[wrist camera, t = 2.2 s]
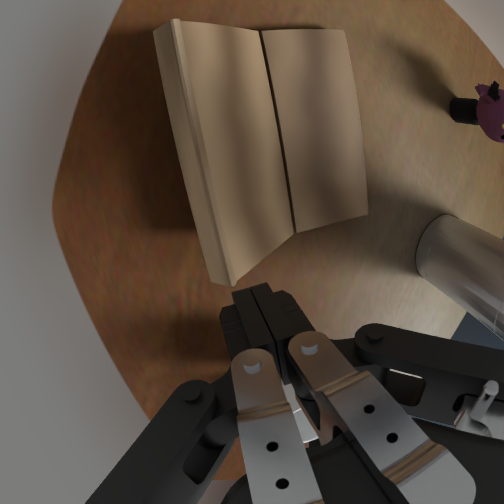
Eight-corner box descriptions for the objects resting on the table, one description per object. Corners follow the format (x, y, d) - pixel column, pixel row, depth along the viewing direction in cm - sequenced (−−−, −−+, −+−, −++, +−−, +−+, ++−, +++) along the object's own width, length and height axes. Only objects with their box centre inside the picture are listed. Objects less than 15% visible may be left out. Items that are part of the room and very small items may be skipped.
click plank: (240, 37, 21) (260, 30, 19) (276, 232, 28) (296, 234, 27) (152, 31, 14) (172, 18, 13) (211, 281, 22) (232, 287, 21)
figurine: (432, 80, 26) (516, 82, 15) (468, 77, 26) (542, 82, 16) (443, 145, 29) (524, 165, 19) (477, 135, 30) (548, 152, 19)
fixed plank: (334, 34, 22) (344, 30, 21) (358, 209, 30) (368, 214, 28) (256, 36, 21) (261, 30, 20) (290, 226, 29) (296, 233, 27)
